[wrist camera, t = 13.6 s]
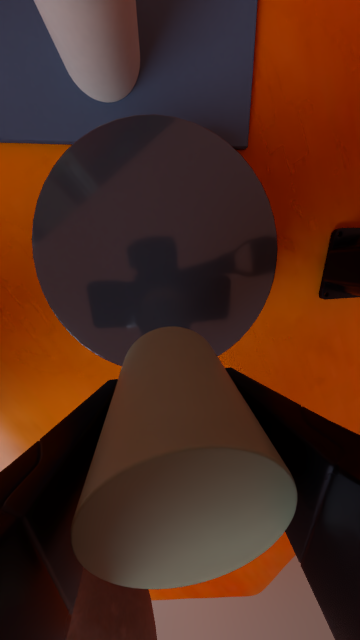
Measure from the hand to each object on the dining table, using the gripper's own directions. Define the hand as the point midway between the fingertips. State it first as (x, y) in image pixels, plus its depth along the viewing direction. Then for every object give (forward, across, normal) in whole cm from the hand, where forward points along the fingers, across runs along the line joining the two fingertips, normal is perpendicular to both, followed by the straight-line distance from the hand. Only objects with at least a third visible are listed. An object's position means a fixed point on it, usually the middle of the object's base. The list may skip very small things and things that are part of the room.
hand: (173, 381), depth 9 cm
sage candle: (+1, 0, 0) cm, 1 cm away
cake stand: (+10, 0, -5) cm, 11 cm away
